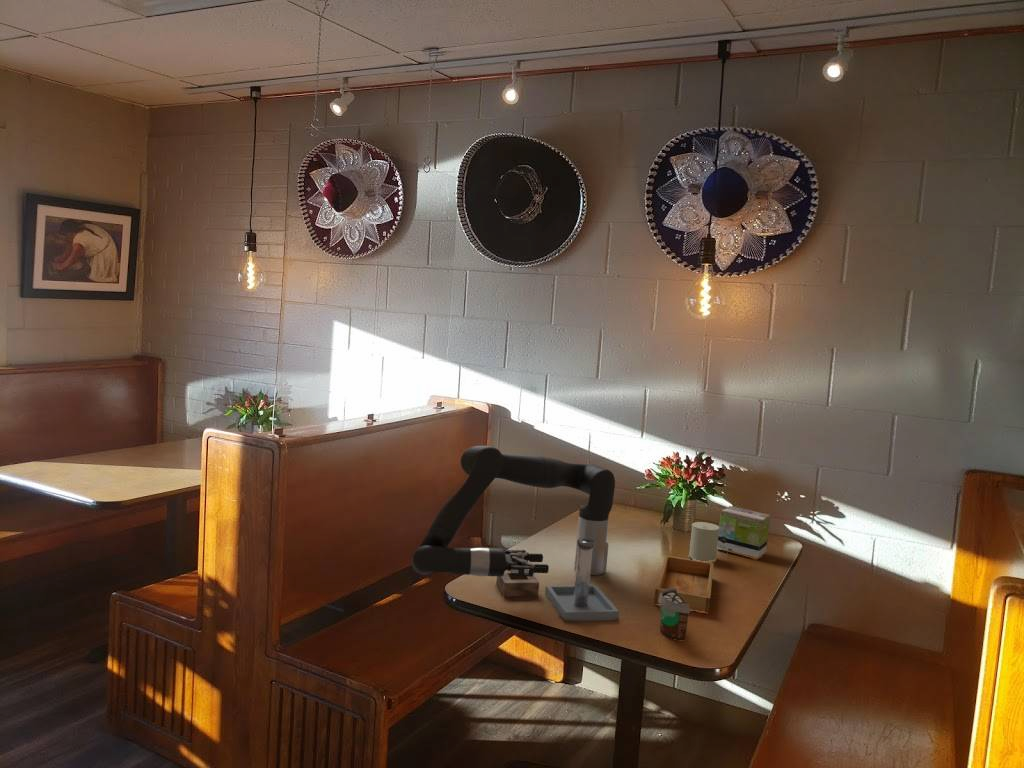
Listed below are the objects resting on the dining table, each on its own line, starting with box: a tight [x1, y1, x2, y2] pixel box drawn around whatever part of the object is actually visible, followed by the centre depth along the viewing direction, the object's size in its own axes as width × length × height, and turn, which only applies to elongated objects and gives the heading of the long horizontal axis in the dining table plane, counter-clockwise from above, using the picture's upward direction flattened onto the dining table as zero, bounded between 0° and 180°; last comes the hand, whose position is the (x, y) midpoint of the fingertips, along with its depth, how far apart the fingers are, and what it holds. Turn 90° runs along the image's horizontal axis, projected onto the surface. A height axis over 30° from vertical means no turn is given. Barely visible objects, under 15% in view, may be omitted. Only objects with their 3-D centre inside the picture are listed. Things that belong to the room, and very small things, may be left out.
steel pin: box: [573, 539, 595, 607], centre depth 217 cm, size 5×5×18 cm
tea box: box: [717, 505, 771, 557], centre depth 277 cm, size 15×10×15 cm
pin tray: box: [544, 584, 620, 623], centre depth 218 cm, size 15×19×2 cm
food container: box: [658, 588, 691, 642], centre depth 205 cm, size 12×6×10 cm, turn 5°
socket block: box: [496, 570, 540, 598], centre depth 227 cm, size 10×10×4 cm
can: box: [688, 521, 719, 561], centre depth 267 cm, size 9×9×12 cm
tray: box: [653, 555, 715, 612], centre depth 236 cm, size 31×15×6 cm, turn 164°
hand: (545, 563), depth 215 cm, fingers open, 8 cm apart
